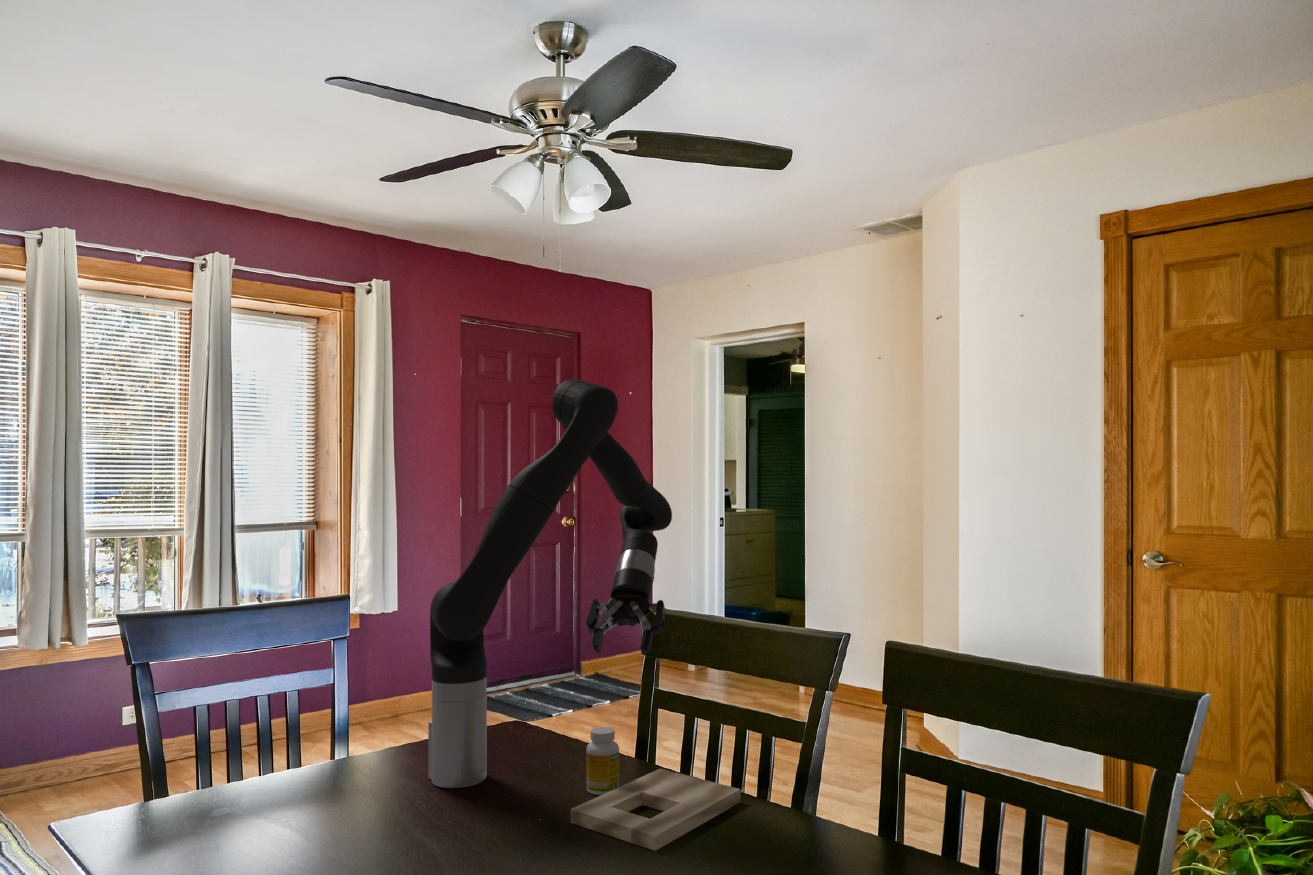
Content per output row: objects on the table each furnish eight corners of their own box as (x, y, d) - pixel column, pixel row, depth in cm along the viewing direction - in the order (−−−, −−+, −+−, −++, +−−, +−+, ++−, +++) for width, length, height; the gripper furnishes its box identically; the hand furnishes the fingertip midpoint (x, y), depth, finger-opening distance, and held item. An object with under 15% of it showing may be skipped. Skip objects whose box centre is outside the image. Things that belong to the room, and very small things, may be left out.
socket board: (570, 822, 128) (570, 809, 128) (660, 780, 145) (660, 768, 145) (655, 850, 118) (655, 835, 118) (740, 801, 135) (740, 788, 135)
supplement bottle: (614, 796, 138) (614, 735, 138) (582, 794, 139) (582, 734, 139) (622, 785, 143) (622, 726, 143) (591, 783, 144) (591, 724, 145)
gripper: (594, 566, 164) (577, 638, 152) (667, 566, 161) (655, 639, 149) (602, 590, 169) (586, 661, 157) (673, 590, 166) (662, 663, 154)
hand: (620, 651), depth 153 cm, fingers open, 8 cm apart
